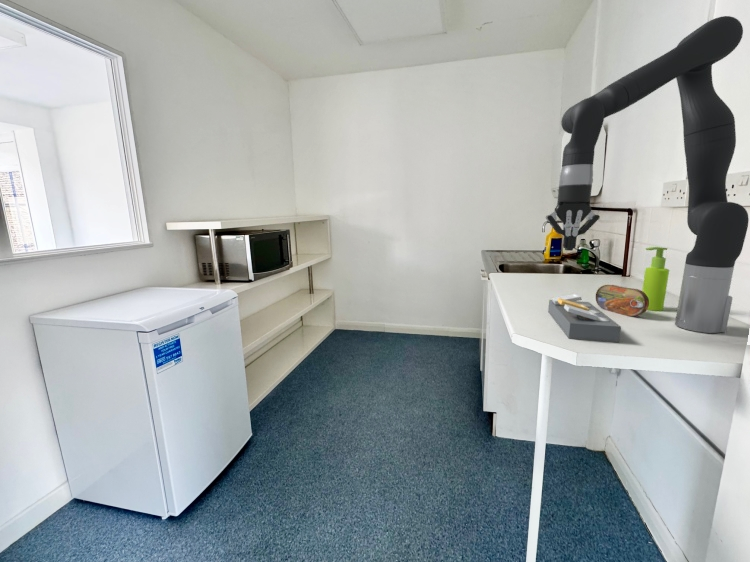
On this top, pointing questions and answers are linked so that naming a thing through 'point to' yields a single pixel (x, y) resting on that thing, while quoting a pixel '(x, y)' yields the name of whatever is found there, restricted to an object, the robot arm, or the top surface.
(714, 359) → the top surface
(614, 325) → the rocker switch panel
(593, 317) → the rocker
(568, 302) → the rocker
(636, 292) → the tin
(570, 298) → the rocker
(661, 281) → the soap dispenser
